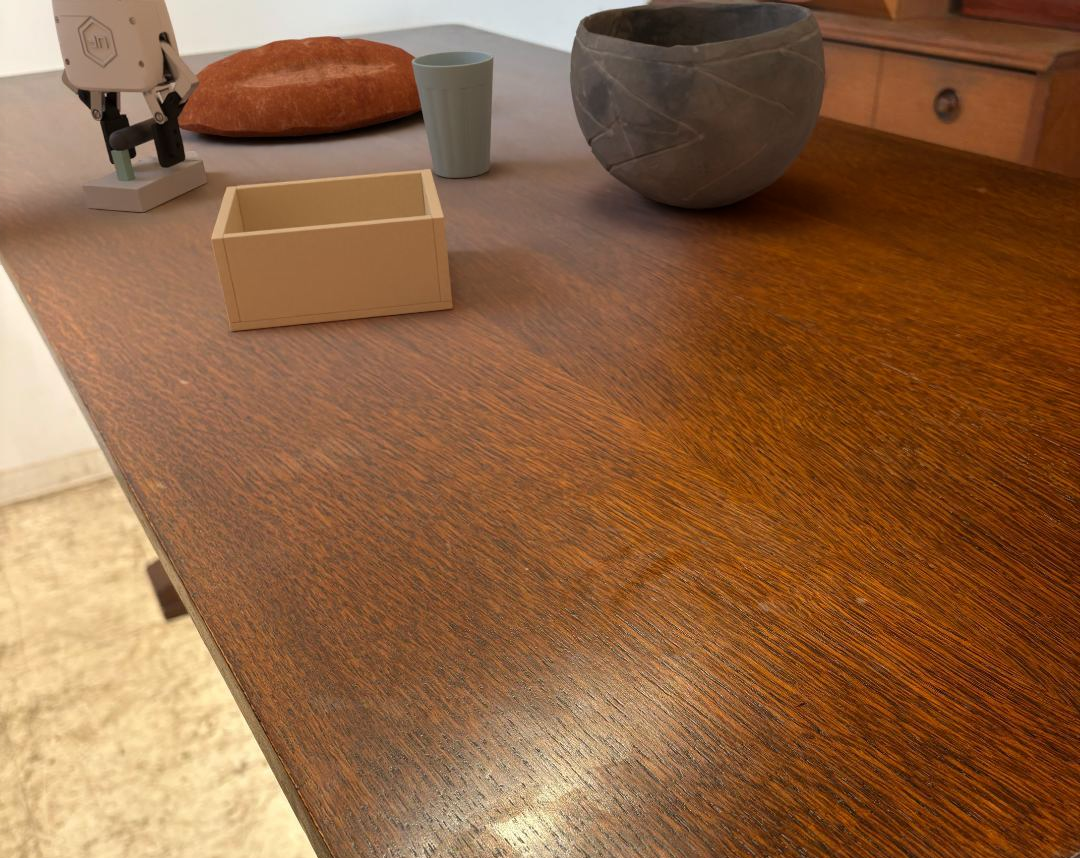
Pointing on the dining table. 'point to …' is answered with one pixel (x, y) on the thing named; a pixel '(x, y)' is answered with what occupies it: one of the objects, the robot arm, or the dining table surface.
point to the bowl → (698, 96)
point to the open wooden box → (331, 249)
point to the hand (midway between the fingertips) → (148, 160)
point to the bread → (303, 89)
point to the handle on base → (142, 175)
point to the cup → (456, 110)
